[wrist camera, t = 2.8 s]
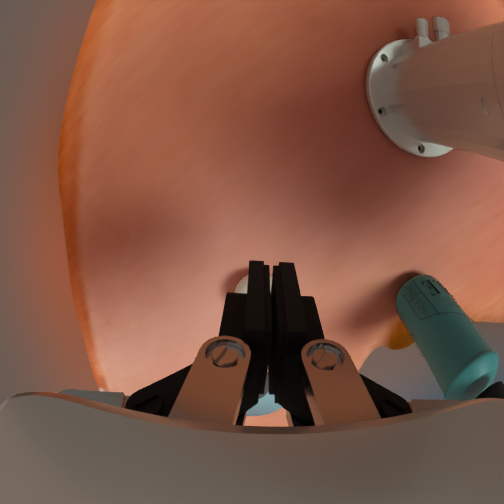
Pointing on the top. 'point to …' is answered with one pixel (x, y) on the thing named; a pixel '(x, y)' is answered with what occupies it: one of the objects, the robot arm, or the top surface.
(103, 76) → the top surface
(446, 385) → the beverage bottle
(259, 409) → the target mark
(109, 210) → the top surface
